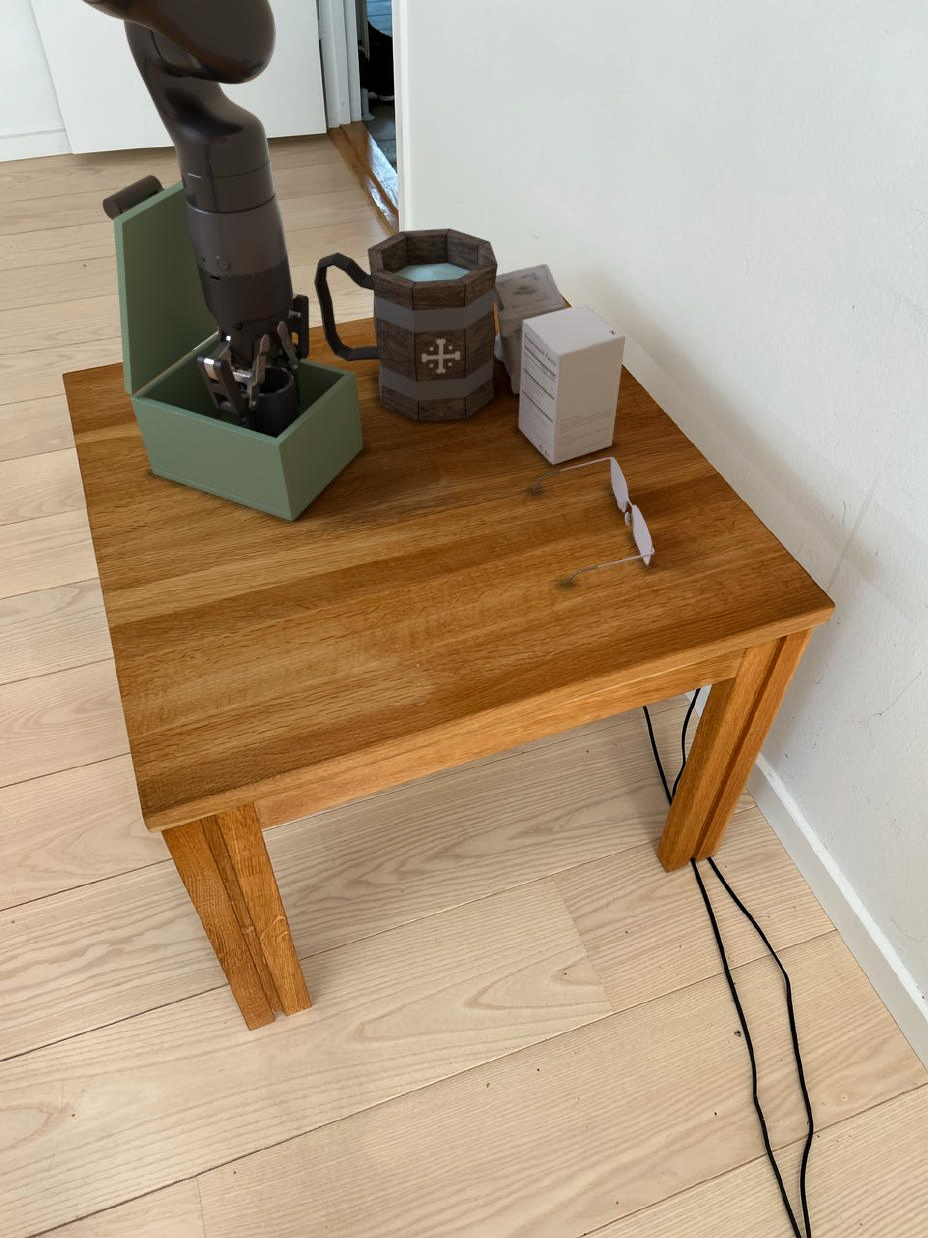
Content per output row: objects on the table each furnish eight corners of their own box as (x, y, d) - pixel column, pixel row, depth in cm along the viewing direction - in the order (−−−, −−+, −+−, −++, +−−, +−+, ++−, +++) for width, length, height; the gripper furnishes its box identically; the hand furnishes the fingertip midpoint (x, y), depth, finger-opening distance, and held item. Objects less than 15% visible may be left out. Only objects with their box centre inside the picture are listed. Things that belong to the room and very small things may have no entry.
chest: (363, 447, 95) (356, 372, 89) (292, 522, 87) (278, 445, 81) (231, 407, 100) (215, 333, 94) (153, 474, 92) (129, 398, 86)
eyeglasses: (653, 577, 82) (656, 544, 79) (564, 593, 81) (564, 560, 79) (610, 481, 91) (611, 448, 88) (530, 494, 91) (529, 462, 88)
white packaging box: (576, 410, 100) (586, 300, 91) (613, 447, 95) (628, 335, 86) (515, 428, 98) (520, 317, 88) (550, 467, 93) (559, 354, 84)
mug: (509, 364, 106) (513, 235, 95) (479, 431, 97) (481, 296, 86) (347, 342, 110) (334, 215, 99) (305, 404, 101) (285, 272, 90)
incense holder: (482, 352, 108) (483, 266, 101) (552, 346, 109) (558, 261, 101) (497, 399, 101) (499, 310, 94) (571, 392, 102) (579, 304, 95)
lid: (224, 164, 80) (173, 137, 81) (122, 223, 72) (66, 193, 72) (218, 330, 94) (175, 307, 94) (132, 395, 86) (85, 369, 86)
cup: (259, 472, 89) (244, 400, 84) (245, 443, 93) (230, 372, 87) (311, 459, 91) (300, 388, 85) (296, 430, 94) (284, 360, 88)
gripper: (254, 209, 82) (282, 376, 95) (148, 277, 74) (194, 452, 86) (325, 225, 80) (344, 394, 92) (225, 297, 71) (261, 474, 84)
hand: (272, 421), depth 89 cm, fingers closed on cup, 5 cm apart
